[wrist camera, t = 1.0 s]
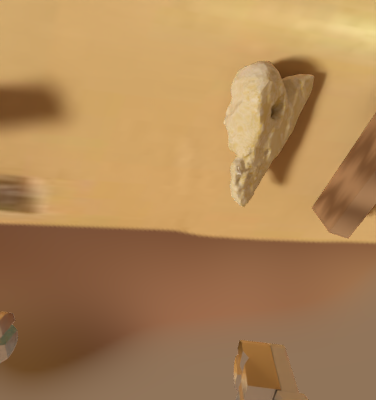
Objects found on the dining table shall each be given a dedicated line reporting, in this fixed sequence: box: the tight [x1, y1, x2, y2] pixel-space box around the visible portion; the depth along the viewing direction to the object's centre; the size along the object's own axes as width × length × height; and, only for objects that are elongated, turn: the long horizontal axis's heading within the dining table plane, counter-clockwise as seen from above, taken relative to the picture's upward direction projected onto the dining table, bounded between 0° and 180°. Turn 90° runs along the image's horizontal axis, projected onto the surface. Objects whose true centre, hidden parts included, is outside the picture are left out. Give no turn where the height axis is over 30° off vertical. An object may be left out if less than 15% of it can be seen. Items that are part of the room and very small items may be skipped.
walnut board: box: [312, 113, 376, 238], centre depth 36 cm, size 20×3×6 cm, turn 161°
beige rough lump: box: [223, 61, 314, 207], centre depth 34 cm, size 15×7×15 cm
